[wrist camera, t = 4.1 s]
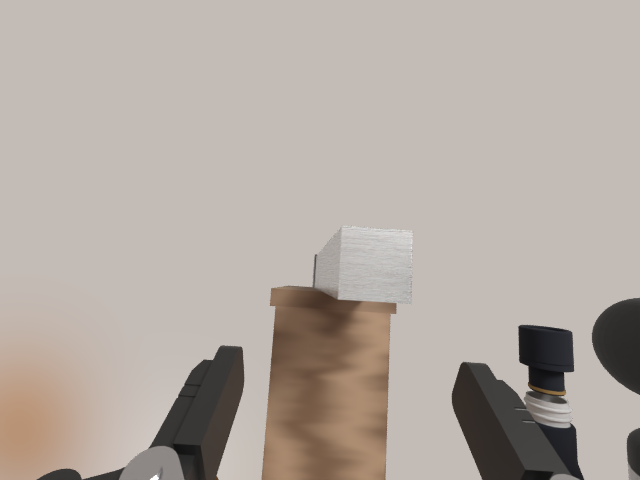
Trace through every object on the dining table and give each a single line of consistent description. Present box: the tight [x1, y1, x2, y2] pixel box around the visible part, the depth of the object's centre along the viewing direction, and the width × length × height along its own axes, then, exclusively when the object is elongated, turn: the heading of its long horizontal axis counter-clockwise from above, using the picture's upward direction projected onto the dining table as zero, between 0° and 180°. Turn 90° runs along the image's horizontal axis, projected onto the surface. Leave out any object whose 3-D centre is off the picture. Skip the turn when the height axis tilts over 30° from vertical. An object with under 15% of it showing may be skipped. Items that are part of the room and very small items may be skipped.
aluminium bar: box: [313, 226, 413, 304], centre depth 28 cm, size 4×24×4 cm, turn 4°
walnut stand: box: [262, 286, 396, 480], centre depth 31 cm, size 11×14×32 cm
